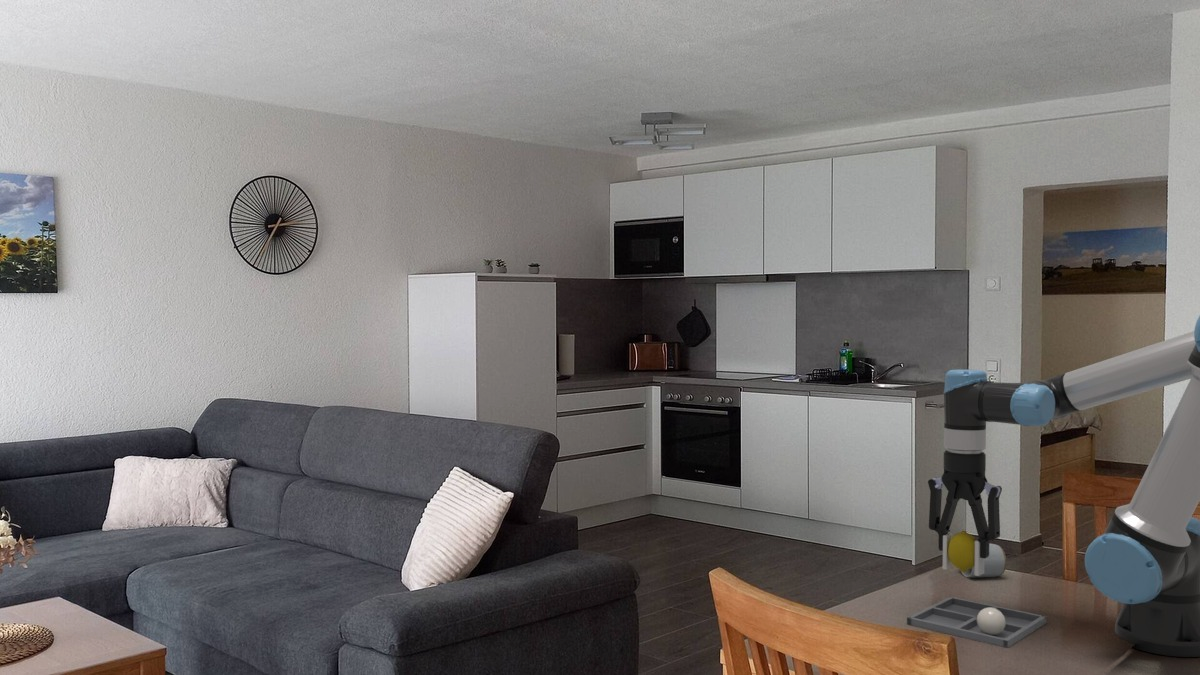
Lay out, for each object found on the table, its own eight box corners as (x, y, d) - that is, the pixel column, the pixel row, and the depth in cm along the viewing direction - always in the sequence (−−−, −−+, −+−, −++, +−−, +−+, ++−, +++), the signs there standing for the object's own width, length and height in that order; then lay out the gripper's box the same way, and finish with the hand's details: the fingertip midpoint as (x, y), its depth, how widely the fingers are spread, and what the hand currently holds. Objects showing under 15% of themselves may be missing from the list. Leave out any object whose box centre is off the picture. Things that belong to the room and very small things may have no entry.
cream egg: (1009, 634, 172) (1010, 607, 172) (999, 641, 169) (999, 613, 169) (983, 628, 176) (983, 602, 176) (972, 634, 172) (972, 608, 172)
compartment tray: (1046, 628, 179) (1046, 616, 179) (1007, 653, 165) (1007, 640, 165) (950, 607, 191) (950, 596, 191) (907, 629, 178) (907, 617, 178)
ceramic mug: (1009, 580, 211) (1008, 545, 211) (973, 581, 210) (973, 546, 210) (984, 568, 221) (984, 535, 221) (950, 569, 221) (950, 536, 220)
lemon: (981, 577, 181) (981, 535, 181) (950, 575, 182) (950, 533, 182) (975, 569, 187) (976, 528, 186) (945, 567, 188) (946, 526, 188)
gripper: (1021, 453, 180) (1020, 576, 181) (927, 443, 193) (926, 558, 194) (1005, 457, 175) (1004, 584, 175) (909, 447, 188) (908, 565, 188)
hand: (963, 570), depth 185 cm, fingers closed on lemon, 5 cm apart
